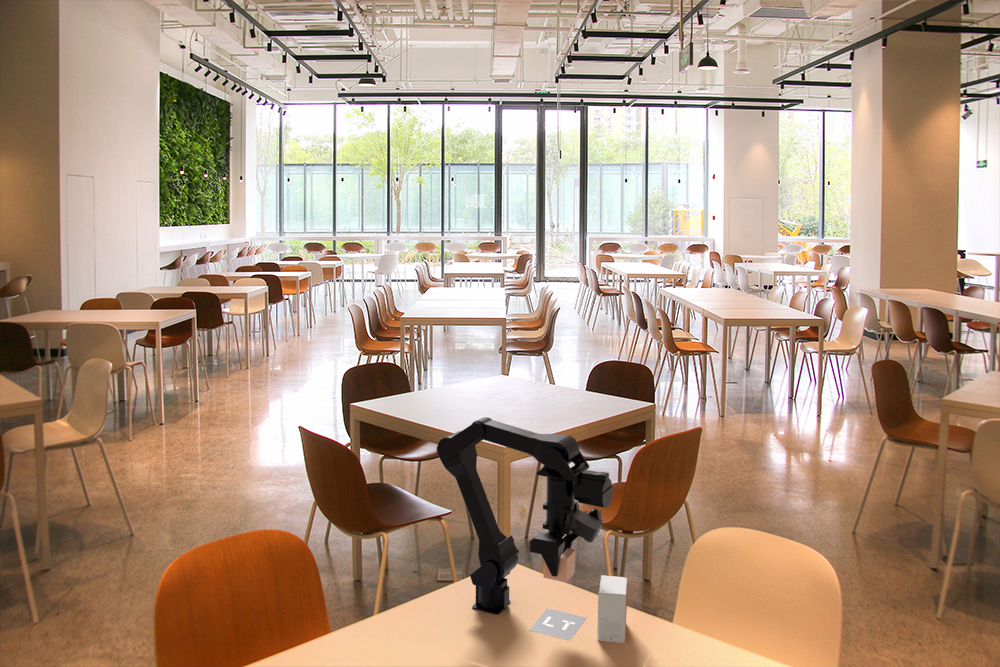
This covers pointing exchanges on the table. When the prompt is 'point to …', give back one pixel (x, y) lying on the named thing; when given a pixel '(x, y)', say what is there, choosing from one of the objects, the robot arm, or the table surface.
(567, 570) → the block
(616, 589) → the small box
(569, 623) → the tile
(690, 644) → the table surface
